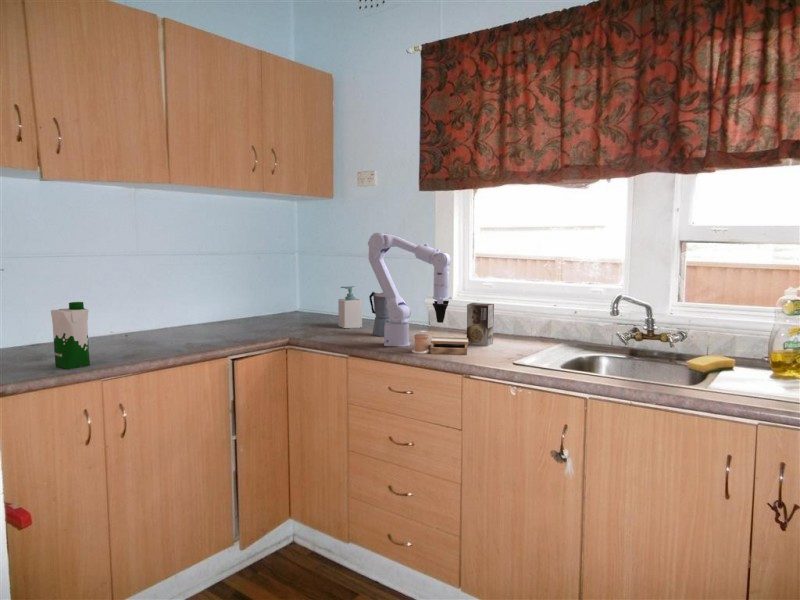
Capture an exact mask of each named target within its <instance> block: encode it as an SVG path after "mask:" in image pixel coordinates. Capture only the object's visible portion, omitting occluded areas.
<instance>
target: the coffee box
mask: <svg viewBox="0 0 800 600" xmlns="http://www.w3.org/2000/svg"><path fill="white" fill-rule="evenodd" d="M494 310H495V304H494V303H486V302H485V303H484V302H482V303H481V302H471V303H468V304H466V338H468V344H467V345H473V346H483V347H484V346H485V347H489V346H491V345H494V321H495V320H494V319H495V318H494V315H495V314H494V313H495V311H494Z"/></svg>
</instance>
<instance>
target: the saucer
mask: <svg viewBox="0 0 800 600" xmlns="http://www.w3.org/2000/svg"><path fill="white" fill-rule="evenodd" d="M411 352H412V353H414V354H428V353H430V349H428V348H427V351H424V352H418V351H415V348H413V349H411Z"/></svg>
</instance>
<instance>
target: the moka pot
mask: <svg viewBox="0 0 800 600" xmlns="http://www.w3.org/2000/svg"><path fill="white" fill-rule="evenodd" d="M368 297H369V303H370V307H371V312H372V314H374V315H375V318H374V323H373V328H372V335H373V336H376V337H383V338H384V328H385V322H390V319H389V317H388V309H387V307H386V306H387V300H386V298H385V295H384V293H383V292H375V291H371V293H370V295H369V296H368Z"/></svg>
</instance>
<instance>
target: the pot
mask: <svg viewBox="0 0 800 600" xmlns="http://www.w3.org/2000/svg"><path fill="white" fill-rule="evenodd" d="M413 337H414V349H415V351H418V352H424V351H427V349H428V338H429V334H426V333H425V334H423V333H421V334H419V333H418V334H414V335H413Z"/></svg>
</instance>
